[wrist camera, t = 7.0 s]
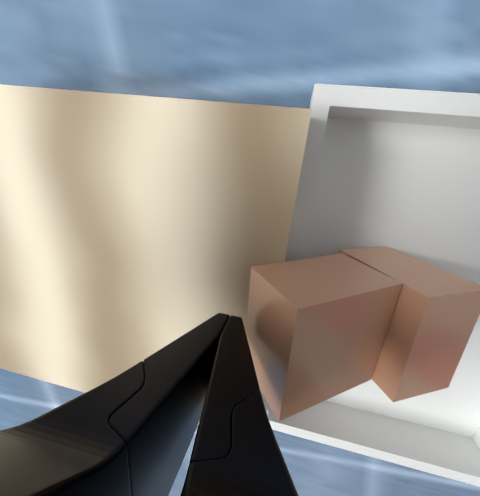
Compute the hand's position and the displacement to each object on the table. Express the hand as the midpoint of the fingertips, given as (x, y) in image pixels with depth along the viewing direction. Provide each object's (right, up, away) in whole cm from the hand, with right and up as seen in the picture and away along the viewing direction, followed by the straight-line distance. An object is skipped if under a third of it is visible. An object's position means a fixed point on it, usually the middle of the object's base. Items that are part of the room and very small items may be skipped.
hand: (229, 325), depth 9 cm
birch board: (-5, +3, +5) cm, 8 cm away
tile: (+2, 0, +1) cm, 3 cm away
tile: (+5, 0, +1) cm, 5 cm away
